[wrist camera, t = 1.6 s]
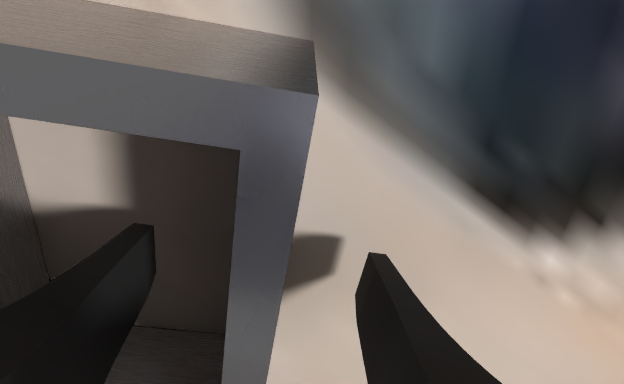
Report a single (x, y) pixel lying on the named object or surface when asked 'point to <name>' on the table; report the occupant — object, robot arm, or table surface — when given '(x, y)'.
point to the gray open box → (173, 126)
